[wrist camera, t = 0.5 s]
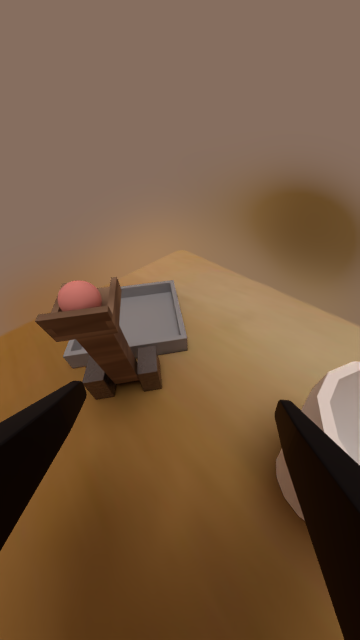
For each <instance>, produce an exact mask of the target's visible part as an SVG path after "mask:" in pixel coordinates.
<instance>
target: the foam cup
mask: <svg viewBox="0 0 360 640" xmlns="http://www.w3.org/2000/svg"><path fill="white" fill-rule="evenodd" d="M301 411H302V412H303V413H304V414H305V415H306V416H307V417H308V418H309V419H311V420H312V421H313V422H314V423H315V424H316V425H317V426H318V427H319V428H320V429H321V430H322V431H323V432H324V433H326V434H327V435H328V436H329V437H330V438H331V439H332V440H333V441H334V442H335V443H336V444H337V445H338V446H339V447H341V448H342V449H343V450H344V451H345V452H346V453H347V454H348V455H349V456H350V457H351V458H352V459H353V460H354V461H356V462H357V463H358V464H359V465H360V362H355V361H353V362H351V363H348V364H346V365H344V366H341V367H339V368H336V369H334V370H332V371H329V372H328V373H327V374H326V375H325V376H324V377H323V378H322V379H321V380H320V381H319V382H318V383H317V384H316V385H315V386H314V387H313V388H312V390H311V392H310V394H309V396H308V398H307V400H306V402H305V404H304V406H303V408H302V410H301ZM276 477H277V480H278V483H279V485H280V488H281V490H282V493H283V496H284V498H285V499H286V500H287V502H288V503H289V504H290V506H291V507H292V508H293V510H294V511H295V512H296V514H297V515H298V516H299V517H300V518H302V519H303V520H304V521H305V519H304V516H303V513H302V510H301V507H300V504H299V501H298V498H297V495H296V492H295V489H294V486H293V483H292V480H291V477H290V474H289V471H288V468H287V465H286V462H285V459H284V455H283V451H282V449H281V451H280V453H279V455H278V457H277V459H276Z"/></svg>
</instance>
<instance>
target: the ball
mask: <svg viewBox="0 0 360 640" xmlns="http://www.w3.org/2000/svg"><path fill="white" fill-rule="evenodd" d="M58 304H59V307H60V309H61V310H62V311H70V310H78V309H85V308H93V307H100V306H101V305H102V298H101V294H100V292H99V291H98V289H97V288H96V287H95V286H94V285H92V284H90V283H88V282H86V281H72V282H69V283H67V284H65V285H64V286H63V287H62V288H61V290H60V291H59V294H58Z"/></svg>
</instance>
